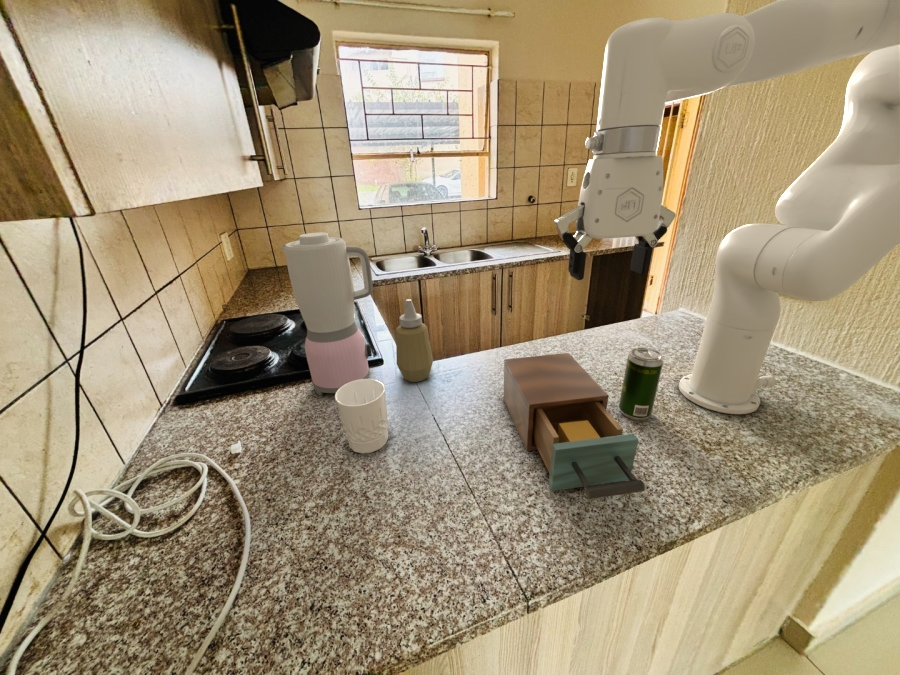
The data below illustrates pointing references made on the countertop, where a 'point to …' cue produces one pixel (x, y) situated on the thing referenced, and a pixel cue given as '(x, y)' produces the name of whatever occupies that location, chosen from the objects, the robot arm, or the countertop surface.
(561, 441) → the mustard brown cube
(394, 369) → the countertop surface
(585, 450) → the open teal drawer
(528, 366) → the wooden drawer cabinet
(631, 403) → the beer can
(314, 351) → the blender
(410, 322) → the squeeze bottle
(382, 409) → the white cup
